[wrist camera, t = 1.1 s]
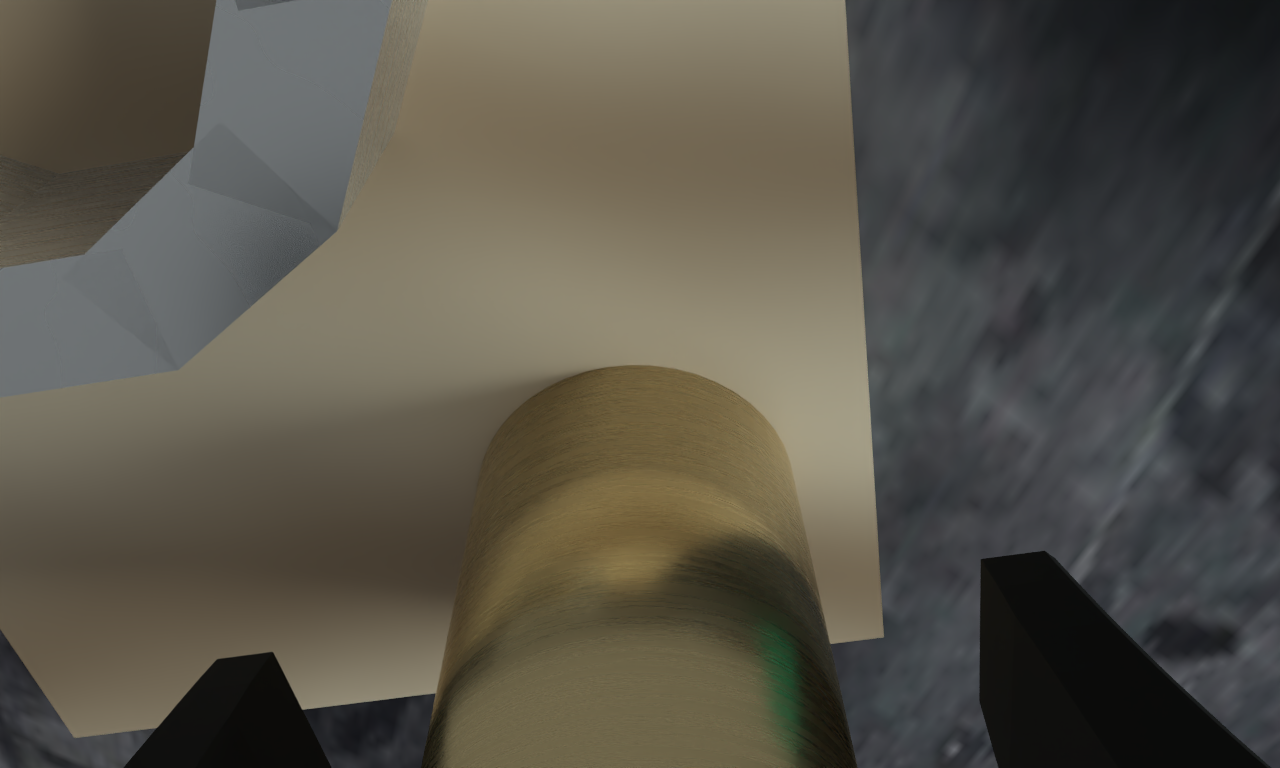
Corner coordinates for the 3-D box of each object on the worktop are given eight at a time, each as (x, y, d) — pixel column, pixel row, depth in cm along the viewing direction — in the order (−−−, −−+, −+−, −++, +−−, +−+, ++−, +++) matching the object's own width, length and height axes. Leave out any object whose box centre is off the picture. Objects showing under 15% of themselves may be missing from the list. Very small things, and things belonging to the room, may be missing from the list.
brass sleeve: (806, 594, 14) (906, 1083, 9) (518, 631, 15) (458, 1124, 9) (778, 342, 12) (887, 793, 7) (441, 391, 12) (311, 858, 7)
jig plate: (869, 587, 16) (883, 637, 15) (103, 685, 16) (75, 738, 16) (752, -1146, 7) (767, -1266, 6) (-801, -736, 8) (-969, -791, 7)
